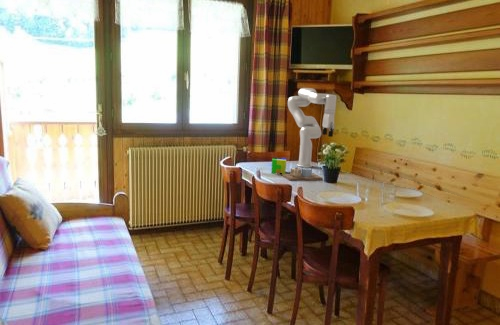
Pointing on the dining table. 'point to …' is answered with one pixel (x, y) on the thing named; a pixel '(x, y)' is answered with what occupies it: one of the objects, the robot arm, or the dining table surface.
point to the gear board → (297, 176)
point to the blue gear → (306, 172)
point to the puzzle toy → (278, 165)
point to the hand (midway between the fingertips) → (327, 135)
